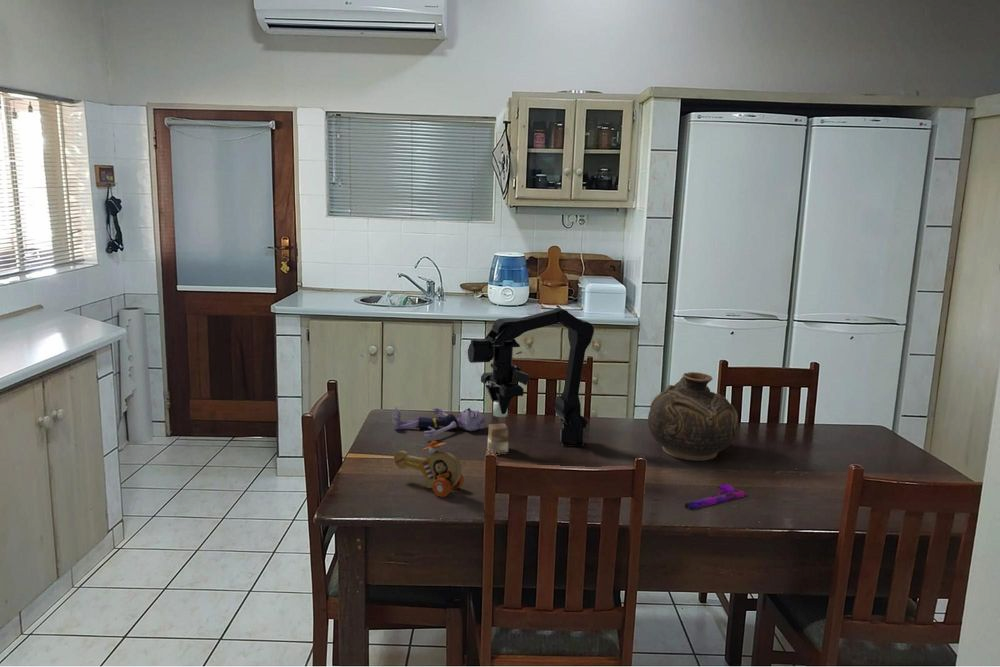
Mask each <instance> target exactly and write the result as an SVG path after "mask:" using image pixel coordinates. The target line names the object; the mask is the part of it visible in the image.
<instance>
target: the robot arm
mask: <svg viewBox="0 0 1000 667" xmlns="http://www.w3.org/2000/svg"><path fill="white" fill-rule="evenodd" d="M556 324H560V325H562V326H563V327H565V328H566V329H567V338H568V343H569V355H568V360H567V361H568V362H567V367H566V372H565V380H564V387H563V391H562V393H561V395H556V396H555V404H554V406H553V409H554V410H555V414H556V415H557V417H559V419H560V422H562V423H561V425H562V426H561V427H560V430H559V431H560V433H559V435H560V436H559V440H560V443H561V444H562V443H563V444H562V446H563V445H567V446H566V447H569V446H568V445H572V446H571V447H584V446H585V445H584V429H586V428H587V424H588V421H587V419H585V417H584V416H582V410H581V409H582V407H581V401H580V396H579V393H580V392H579V391H580V386H581V381H582V380H581V379H582V374H583V370H584V369H583V367H584V363H585V362H584V361H585V354H586V350H587V349H588V348H589V346H590V345H591V343H592V340H593V336H594V333H595V328H594V326H593V324H592V323H591V322H589V321H586V320H583V319H581V318H578V317H576V316H574V315H573V314H571V313H570V312H568V310H566V309H563V308H560V307H556V308H554V309H550V310H547V311H543V312H540V313H539V312H538V313H535V314H530V315H528V316H523V317H503V318H498V319H496V320H494V322H493V324H492V327H491V330H490V331H489V332H488V333H487V335H486V336H485V337H484V339H472V338H471V340H470V343H469V345H468V349H467V359H468V361H469V363H471V364H475V363H490V362H491V361H492V362H491V363H490V368H491V369H492V372H491V371H490V372H483V373H482V374H481V376H480V382H481V383H482V384H486V385H485V388H486V390H487V393H488V394H489V397H490V400H491V401H492V403H493V402H494V401H496V400H498V402H499V406H500V410H501V413H502V414H506V411H507V408H509V405H510V403H511V400H512V399H513V398H514V397H523V396H524V388H523V387H522V386H521V385H519V384H518V383H520V384H522V385H524V386H527V384H528V382H529V379H530V377H531V375H530V374H528V373H526V372H524V371H523V370H521V369H522V368H521V367H520V366H518V365H516V364H515V365H513V358H514V357H513V354H514V348H520V346H521V345H520V343H518V342H517V341H516V338H519V337H520V336H522V335H523V334H525V333H526V332H529V331H534V330H538V329H541V328H545V327H548V326H554V325H556ZM516 382H517V383H516Z"/></svg>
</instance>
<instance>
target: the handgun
mask: <svg viewBox="0 0 1000 667" xmlns="http://www.w3.org/2000/svg"><path fill="white" fill-rule="evenodd" d="M718 488H719V489H721V491H719V492H718V493H717V494H715V495H712V496H711V497H708V498H703V499H699V500H694V501H689V502H685V503H684V508H685V509H687V510H690V511H691V510H694V509H697V508H702V507H706V506H712V505H715V504H717V503H721V502H725V501H726V502H727V501H730V500H734V499H739V498H746V493H745V492H744V491H743V490H741V489H735V488H734V487H733V486H731V485H730V484H728V483H720V484H719V485H718Z"/></svg>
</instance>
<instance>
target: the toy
mask: <svg viewBox="0 0 1000 667" xmlns="http://www.w3.org/2000/svg"><path fill="white" fill-rule="evenodd" d="M431 409H432V412H433V415H439V416H444V417H441V418H435V417H434V418H432V417H425V416H419V417H417V418H414V419H413V418H412V419H411V420H404V421H402V420H401V415H402V414H401V410H400V409H399V408H397V406H395V407H394V412H393V411H392V412H391V418H392V426H393V428H394V430H412V429H414V428H417V427H418V428H419V429H420V428H421V429H422V428H425V429H430V430H424V431H423V433H424V434H423V436H424V437H425V438H426V439H429V438H432V437H436V436H437V435H438V434H442V433H443V432H445V431H449V430H452V429H455V428H457V427H458V426H462V427H463V429H465V430H466V431H469V432H474V431H477V430H479V429H480V430H481V429H482V426H484V424H485V422H486V420H487V419H486V418H485V417H484V415H483V414H482V413H481V412H480V411H479V410H471V407H468V408H467V409H465V410H463V411H461V412H460V417H457V416H456V415H454V414H453V413H450V414H447V413H446V412H444V410H443V409H442V408H439V407H437V406H435V407H433V408H431ZM439 427H442V428H439ZM437 428H439V429H437Z"/></svg>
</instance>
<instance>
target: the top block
mask: <svg viewBox="0 0 1000 667" xmlns="http://www.w3.org/2000/svg"><path fill="white" fill-rule="evenodd" d="M488 437H489V439H490V440H491V442H506V441H508V442H509V427H508V426H507V425H506V423H490V424H489V423H488V435H487V438H488Z"/></svg>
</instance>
